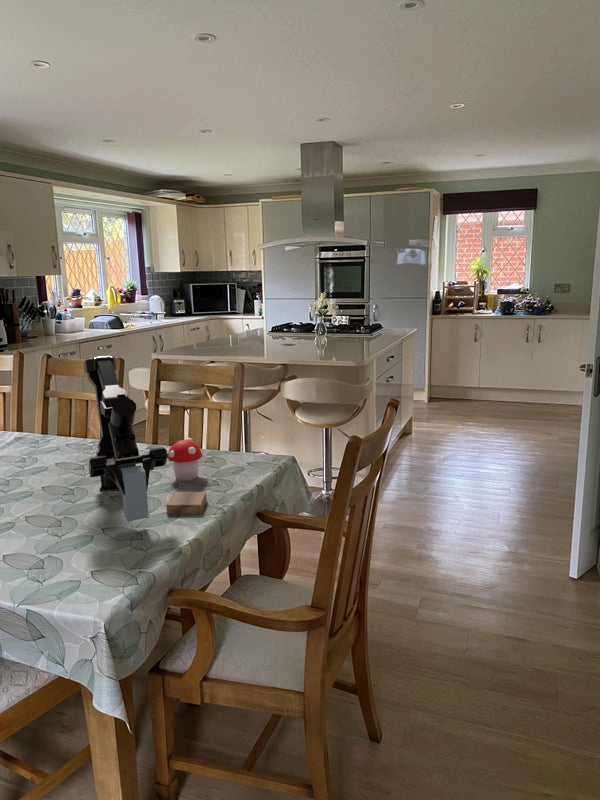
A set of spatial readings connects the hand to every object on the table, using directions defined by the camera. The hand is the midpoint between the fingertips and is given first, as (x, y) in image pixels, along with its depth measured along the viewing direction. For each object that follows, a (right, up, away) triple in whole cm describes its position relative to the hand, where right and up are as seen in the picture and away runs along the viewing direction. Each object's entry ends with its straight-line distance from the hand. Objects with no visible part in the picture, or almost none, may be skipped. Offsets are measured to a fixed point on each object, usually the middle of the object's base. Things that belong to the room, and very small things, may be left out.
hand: (135, 492), depth 145 cm
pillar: (-1, -6, +3) cm, 7 cm away
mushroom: (+5, -2, +40) cm, 41 cm away
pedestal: (+9, -7, +17) cm, 21 cm away
